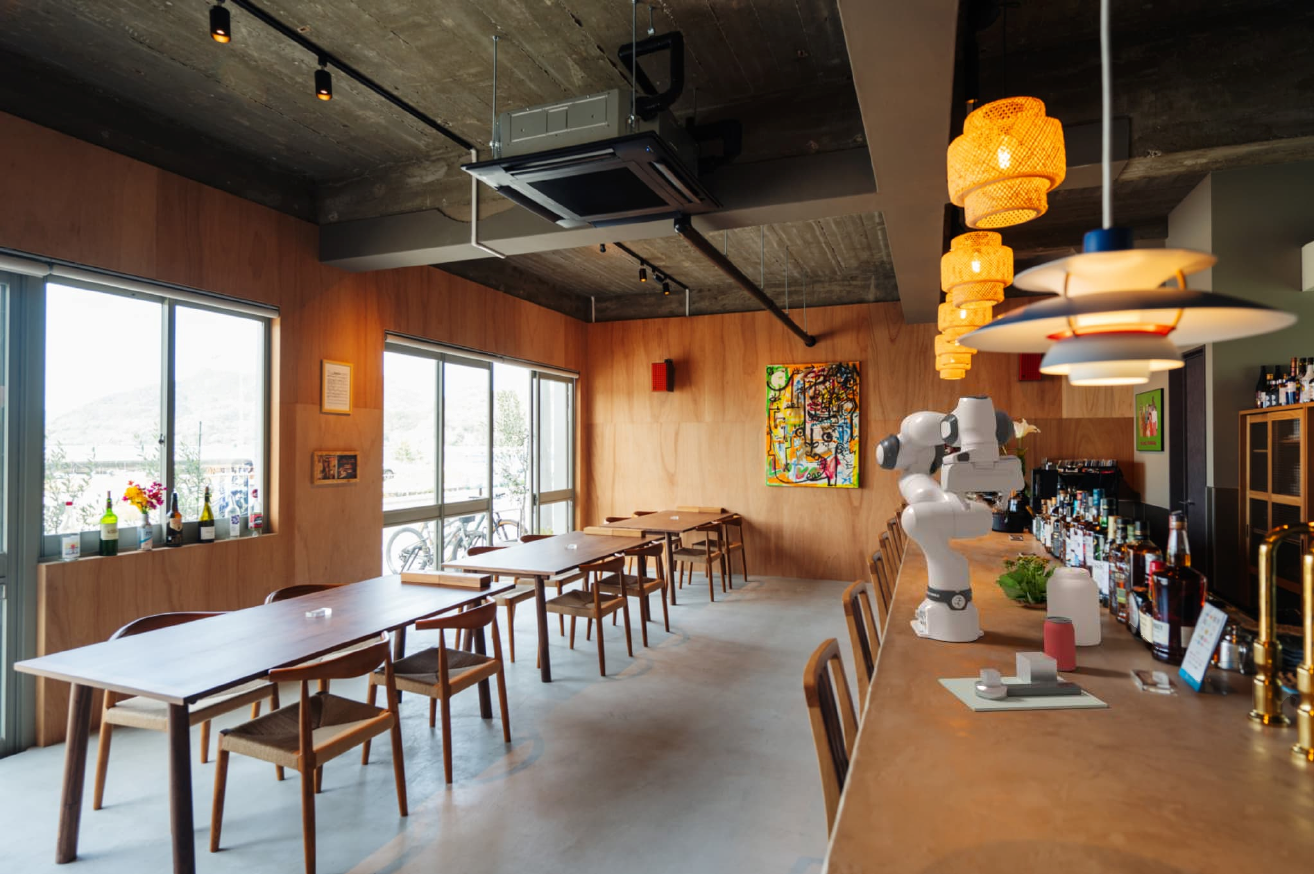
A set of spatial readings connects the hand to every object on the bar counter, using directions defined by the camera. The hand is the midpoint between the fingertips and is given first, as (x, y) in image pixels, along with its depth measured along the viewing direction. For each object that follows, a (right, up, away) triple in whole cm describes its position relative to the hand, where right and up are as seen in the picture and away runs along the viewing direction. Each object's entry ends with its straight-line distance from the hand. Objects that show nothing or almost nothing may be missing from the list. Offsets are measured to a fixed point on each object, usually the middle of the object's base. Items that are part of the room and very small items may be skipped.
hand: (984, 509), depth 175 cm
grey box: (+3, -38, -18) cm, 42 cm away
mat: (-4, -39, -23) cm, 45 cm away
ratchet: (-3, -38, -25) cm, 46 cm away
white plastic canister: (+32, -38, +15) cm, 52 cm away
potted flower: (+45, -39, +55) cm, 81 cm away
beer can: (+15, -39, -7) cm, 42 cm away
